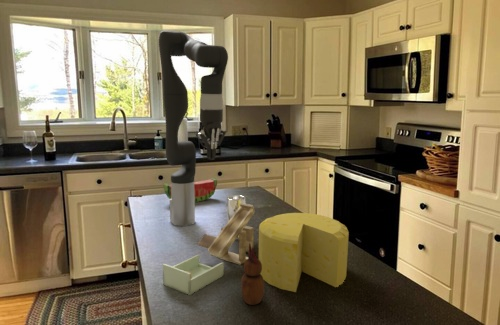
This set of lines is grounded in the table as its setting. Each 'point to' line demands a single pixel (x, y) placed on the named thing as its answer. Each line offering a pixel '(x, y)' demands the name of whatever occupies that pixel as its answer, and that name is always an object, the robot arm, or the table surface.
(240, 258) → the fulcrum
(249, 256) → the wooden figurine
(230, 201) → the beer glass
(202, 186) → the fruit slice
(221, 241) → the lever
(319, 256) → the cheese
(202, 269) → the tray
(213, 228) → the table surface
